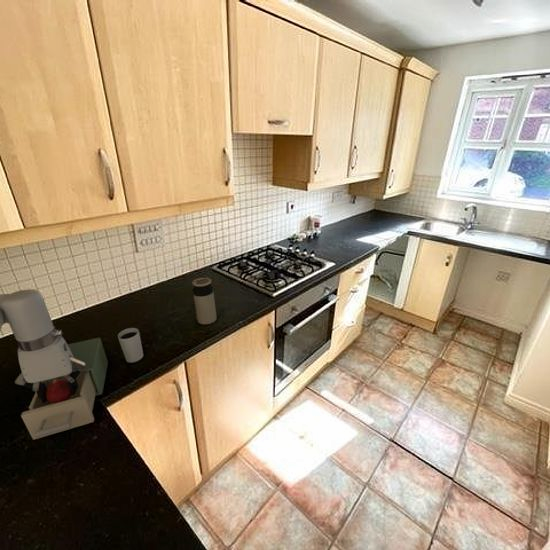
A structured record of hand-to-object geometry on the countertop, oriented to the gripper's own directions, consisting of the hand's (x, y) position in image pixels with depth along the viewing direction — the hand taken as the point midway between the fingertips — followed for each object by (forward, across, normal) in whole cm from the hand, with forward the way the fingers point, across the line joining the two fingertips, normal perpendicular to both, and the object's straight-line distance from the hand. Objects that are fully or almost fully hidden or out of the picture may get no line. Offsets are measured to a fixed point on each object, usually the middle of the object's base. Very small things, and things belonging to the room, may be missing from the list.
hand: (60, 394), depth 80 cm
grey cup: (+8, -16, -20) cm, 27 cm away
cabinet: (+8, 0, -13) cm, 15 cm away
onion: (+3, 0, 0) cm, 3 cm away
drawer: (+7, 0, +1) cm, 7 cm away
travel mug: (+7, -44, -34) cm, 56 cm away
